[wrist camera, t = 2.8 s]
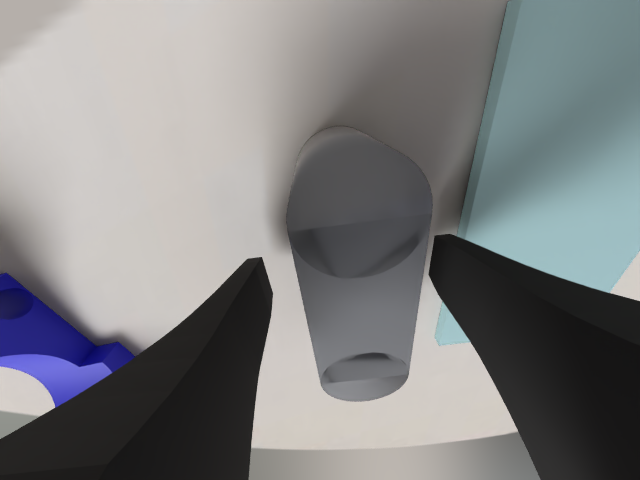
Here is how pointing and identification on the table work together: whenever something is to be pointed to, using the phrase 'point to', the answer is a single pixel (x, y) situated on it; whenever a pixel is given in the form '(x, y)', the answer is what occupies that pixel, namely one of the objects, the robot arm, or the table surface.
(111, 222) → the table surface
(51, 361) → the cable clip
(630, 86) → the rubber mat
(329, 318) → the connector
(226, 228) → the table surface
